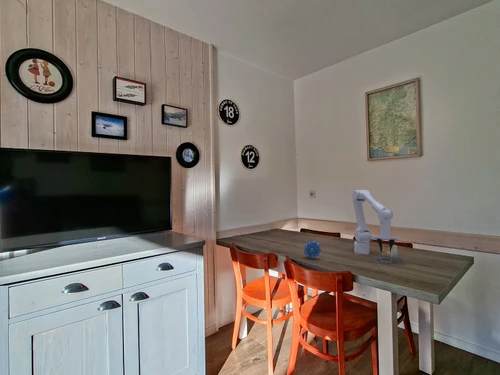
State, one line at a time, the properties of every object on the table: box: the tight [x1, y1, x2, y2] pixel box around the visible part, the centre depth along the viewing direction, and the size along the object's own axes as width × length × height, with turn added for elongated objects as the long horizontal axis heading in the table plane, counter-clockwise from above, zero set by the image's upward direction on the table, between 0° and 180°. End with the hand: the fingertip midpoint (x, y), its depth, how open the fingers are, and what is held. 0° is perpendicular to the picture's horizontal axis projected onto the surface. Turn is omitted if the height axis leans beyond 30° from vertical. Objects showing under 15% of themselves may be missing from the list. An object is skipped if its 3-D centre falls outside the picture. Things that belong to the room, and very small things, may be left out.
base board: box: [370, 255, 405, 265], centre depth 162 cm, size 16×16×2 cm
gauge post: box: [390, 244, 398, 260], centre depth 165 cm, size 3×3×8 cm
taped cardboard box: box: [380, 244, 391, 257], centre depth 159 cm, size 4×4×5 cm
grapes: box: [303, 240, 322, 260], centre depth 171 cm, size 12×7×12 cm, turn 63°
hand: (385, 251), depth 159 cm, fingers closed on taped cardboard box, 4 cm apart
